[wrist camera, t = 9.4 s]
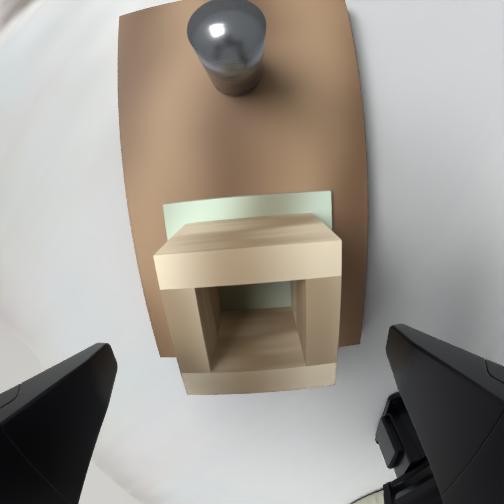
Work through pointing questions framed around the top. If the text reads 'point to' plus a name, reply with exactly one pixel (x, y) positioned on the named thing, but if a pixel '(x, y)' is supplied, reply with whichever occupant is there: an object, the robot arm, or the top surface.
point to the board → (244, 143)
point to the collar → (257, 320)
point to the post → (229, 44)
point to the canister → (372, 499)
